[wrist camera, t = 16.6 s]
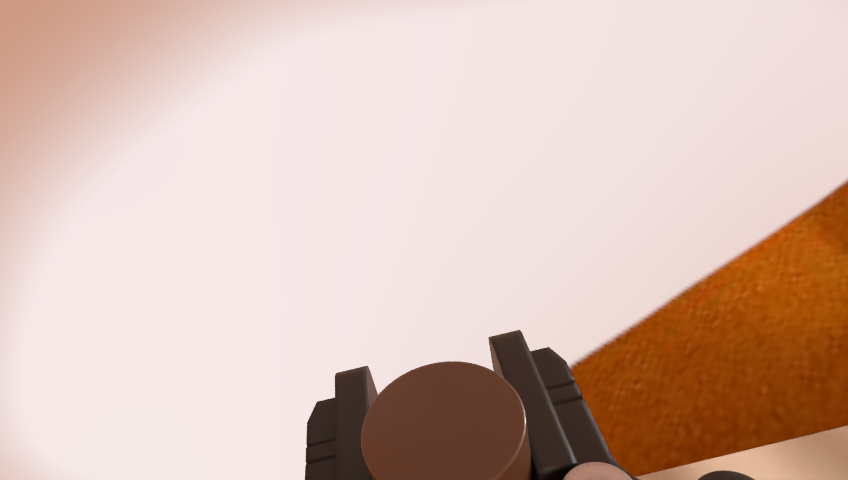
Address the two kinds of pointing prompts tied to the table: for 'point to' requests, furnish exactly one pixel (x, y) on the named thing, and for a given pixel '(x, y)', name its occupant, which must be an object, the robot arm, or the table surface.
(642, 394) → the table surface
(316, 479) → the robot arm
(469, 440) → the stamp with brown handle
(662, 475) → the beige flat block
